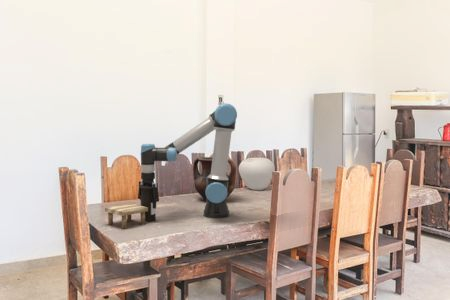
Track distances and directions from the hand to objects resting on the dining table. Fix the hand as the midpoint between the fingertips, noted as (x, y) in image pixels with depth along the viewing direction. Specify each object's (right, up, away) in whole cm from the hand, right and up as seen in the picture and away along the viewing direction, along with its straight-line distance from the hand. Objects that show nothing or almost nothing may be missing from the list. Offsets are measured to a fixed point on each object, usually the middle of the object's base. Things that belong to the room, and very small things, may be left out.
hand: (148, 212), depth 242 cm
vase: (+67, +3, +106) cm, 126 cm away
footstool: (-10, -5, -8) cm, 14 cm away
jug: (+35, 0, +60) cm, 69 cm away
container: (0, -4, 0) cm, 4 cm away
